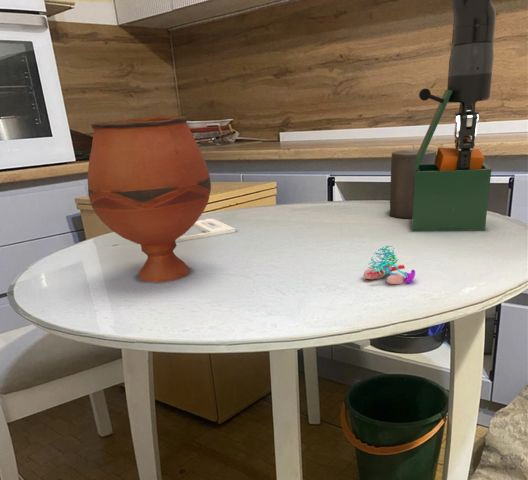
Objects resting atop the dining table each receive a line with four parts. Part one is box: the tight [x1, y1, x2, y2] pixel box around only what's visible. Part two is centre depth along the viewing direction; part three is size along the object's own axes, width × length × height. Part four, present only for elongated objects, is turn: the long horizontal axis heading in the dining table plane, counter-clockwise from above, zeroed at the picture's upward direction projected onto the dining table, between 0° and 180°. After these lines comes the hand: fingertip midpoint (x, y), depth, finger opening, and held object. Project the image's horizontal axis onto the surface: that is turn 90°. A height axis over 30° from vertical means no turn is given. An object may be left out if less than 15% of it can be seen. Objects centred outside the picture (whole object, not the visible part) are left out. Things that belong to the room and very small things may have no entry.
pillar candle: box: [388, 145, 438, 219], centre depth 120 cm, size 10×10×15 cm
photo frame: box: [175, 218, 236, 243], centre depth 120 cm, size 15×1×18 cm
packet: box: [434, 147, 486, 171], centre depth 103 cm, size 4×8×3 cm, turn 90°
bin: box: [411, 162, 492, 233], centre depth 108 cm, size 14×12×12 cm
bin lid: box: [414, 88, 453, 170], centre depth 103 cm, size 14×12×5 cm
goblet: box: [87, 115, 212, 283], centre depth 86 cm, size 19×19×25 cm
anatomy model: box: [362, 245, 416, 285], centre depth 80 cm, size 5×8×7 cm
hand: (461, 170), depth 104 cm, fingers closed on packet, 5 cm apart
